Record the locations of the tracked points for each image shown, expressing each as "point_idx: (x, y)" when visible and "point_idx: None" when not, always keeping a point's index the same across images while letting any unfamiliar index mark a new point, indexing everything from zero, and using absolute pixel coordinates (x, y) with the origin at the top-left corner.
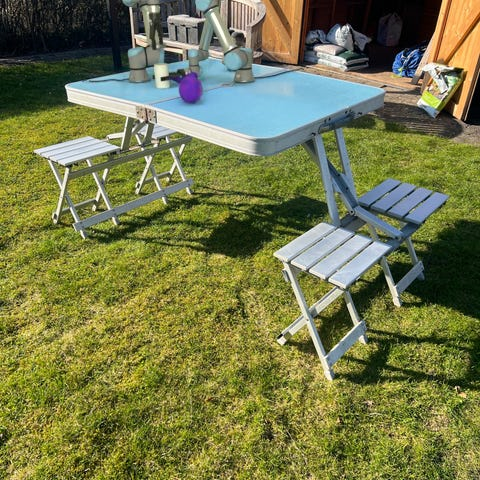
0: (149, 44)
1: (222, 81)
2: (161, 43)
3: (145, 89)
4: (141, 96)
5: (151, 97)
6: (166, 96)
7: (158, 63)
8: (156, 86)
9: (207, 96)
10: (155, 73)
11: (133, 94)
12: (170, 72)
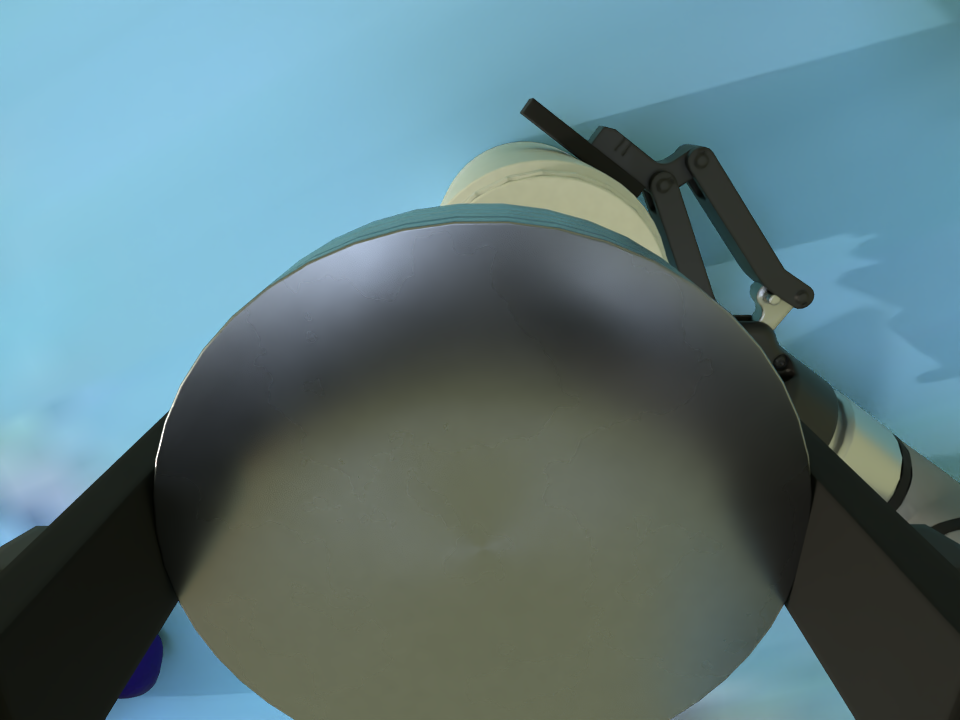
0: (277, 279)
1: (827, 677)
2: (619, 624)
3: (343, 64)
4: (9, 191)
5: (22, 317)
6: (121, 437)
7: (630, 222)
8: (458, 173)
9: (247, 711)
10: (441, 205)
11: (47, 39)
12: (778, 287)
